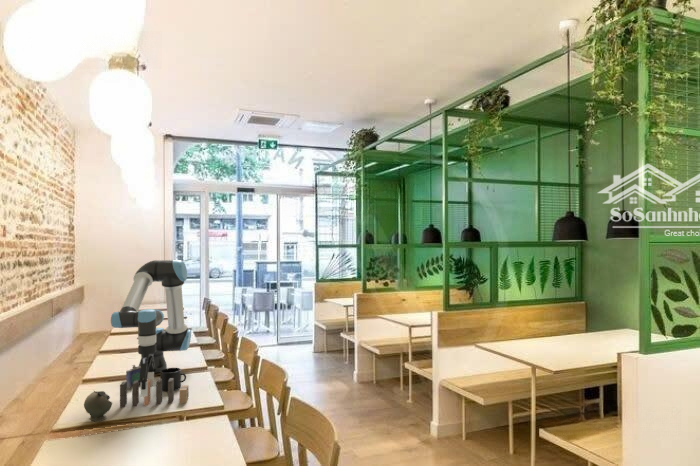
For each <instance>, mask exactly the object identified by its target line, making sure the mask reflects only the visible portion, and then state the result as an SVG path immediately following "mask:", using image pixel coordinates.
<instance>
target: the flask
mask: <svg viewBox="0 0 700 466" xmlns="http://www.w3.org/2000/svg"><path fill="white" fill-rule="evenodd" d="M140 369H141V366H139V365H138V366H136V365H135V364H133V365H132V368H130V369H127V370H125V371H126V373H125V381H127V390H128V389H132V384H133V383H134V381H138V380H139V379H140ZM139 386H141V382H139Z"/></svg>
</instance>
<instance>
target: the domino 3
mask: <svg viewBox="0 0 700 466" xmlns="http://www.w3.org/2000/svg"><path fill="white" fill-rule="evenodd" d="M147 381H148V396H145V397H144V399H143V400H144V401H143V405H144V406H145V407H146V406H149V405H150V403H151V386H150V380H148V379H147Z"/></svg>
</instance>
